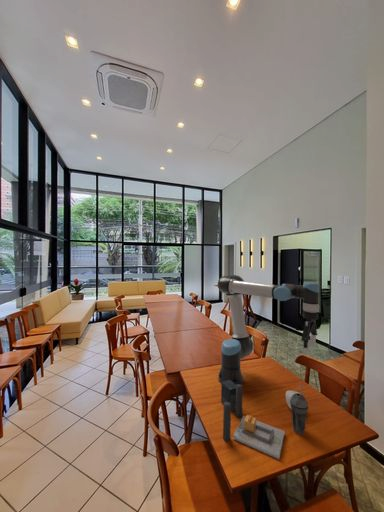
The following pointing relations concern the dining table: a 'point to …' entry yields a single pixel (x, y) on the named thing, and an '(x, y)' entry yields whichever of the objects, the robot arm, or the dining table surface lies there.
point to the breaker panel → (261, 438)
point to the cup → (289, 396)
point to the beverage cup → (299, 412)
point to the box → (228, 393)
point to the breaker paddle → (250, 423)
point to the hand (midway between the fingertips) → (309, 350)
